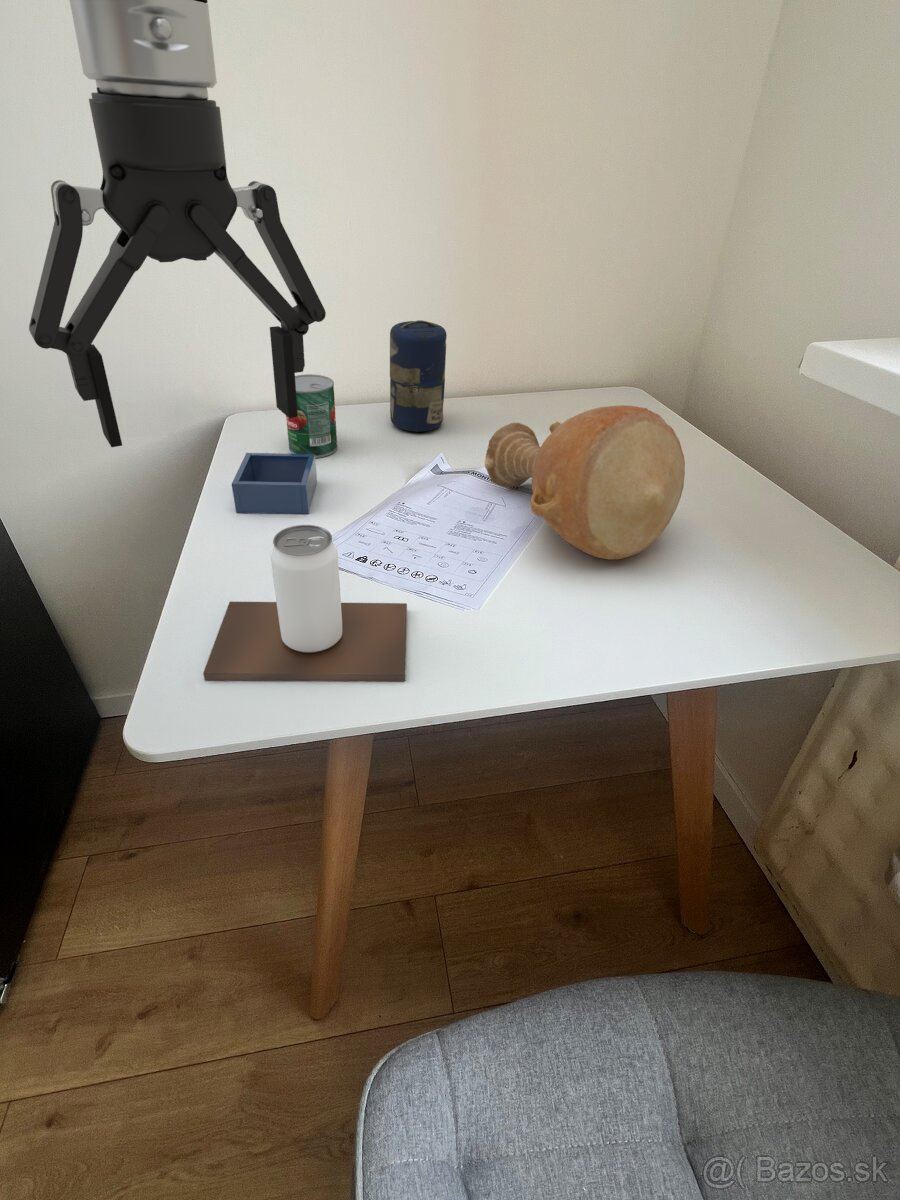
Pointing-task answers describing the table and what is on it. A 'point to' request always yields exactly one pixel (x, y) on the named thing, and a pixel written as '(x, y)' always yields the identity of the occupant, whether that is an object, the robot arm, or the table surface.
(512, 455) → the jug
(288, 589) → the can
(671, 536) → the table surface
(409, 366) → the canister
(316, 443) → the canned tomato
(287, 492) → the holder
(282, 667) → the board
